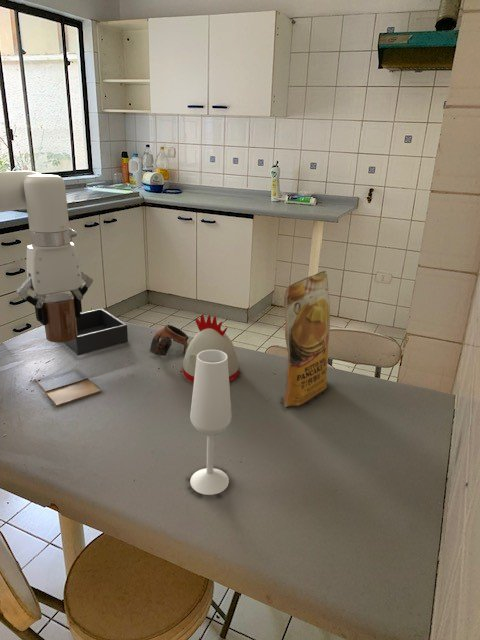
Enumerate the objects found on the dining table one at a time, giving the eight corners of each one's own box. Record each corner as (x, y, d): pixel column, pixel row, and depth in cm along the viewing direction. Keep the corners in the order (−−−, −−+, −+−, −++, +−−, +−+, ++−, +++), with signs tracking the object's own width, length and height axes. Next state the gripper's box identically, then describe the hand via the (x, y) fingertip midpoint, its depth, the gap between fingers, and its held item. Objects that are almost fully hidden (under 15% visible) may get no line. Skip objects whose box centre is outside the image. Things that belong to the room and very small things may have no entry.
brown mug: (41, 335, 103) (36, 296, 99) (70, 328, 107) (66, 291, 103) (56, 348, 97) (51, 308, 93) (87, 341, 101) (83, 302, 97)
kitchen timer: (198, 354, 124) (198, 302, 119) (246, 365, 120) (248, 311, 114) (173, 378, 112) (172, 320, 107) (225, 390, 108) (227, 331, 102)
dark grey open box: (55, 337, 131) (53, 318, 128) (103, 326, 139) (102, 308, 137) (78, 357, 120) (75, 337, 118) (128, 344, 129) (127, 324, 127)
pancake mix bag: (265, 402, 104) (274, 283, 93) (313, 374, 117) (326, 267, 107) (289, 414, 100) (301, 291, 89) (336, 384, 113) (351, 273, 102)
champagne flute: (212, 462, 84) (215, 343, 75) (237, 482, 80) (243, 358, 71) (182, 479, 80) (181, 354, 71) (206, 501, 75) (208, 371, 66)
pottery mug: (151, 344, 130) (165, 320, 129) (180, 362, 130) (195, 337, 129) (139, 353, 118) (155, 325, 117) (171, 372, 118) (187, 344, 117)
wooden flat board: (34, 380, 108) (33, 378, 108) (75, 368, 115) (75, 366, 114) (56, 407, 99) (56, 405, 99) (100, 392, 105) (100, 390, 105)
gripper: (84, 230, 102) (90, 306, 109) (-1, 239, 91) (12, 323, 98) (99, 237, 97) (105, 316, 104) (11, 247, 86) (24, 334, 93)
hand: (60, 318), depth 101 cm, fingers closed on brown mug, 6 cm apart
